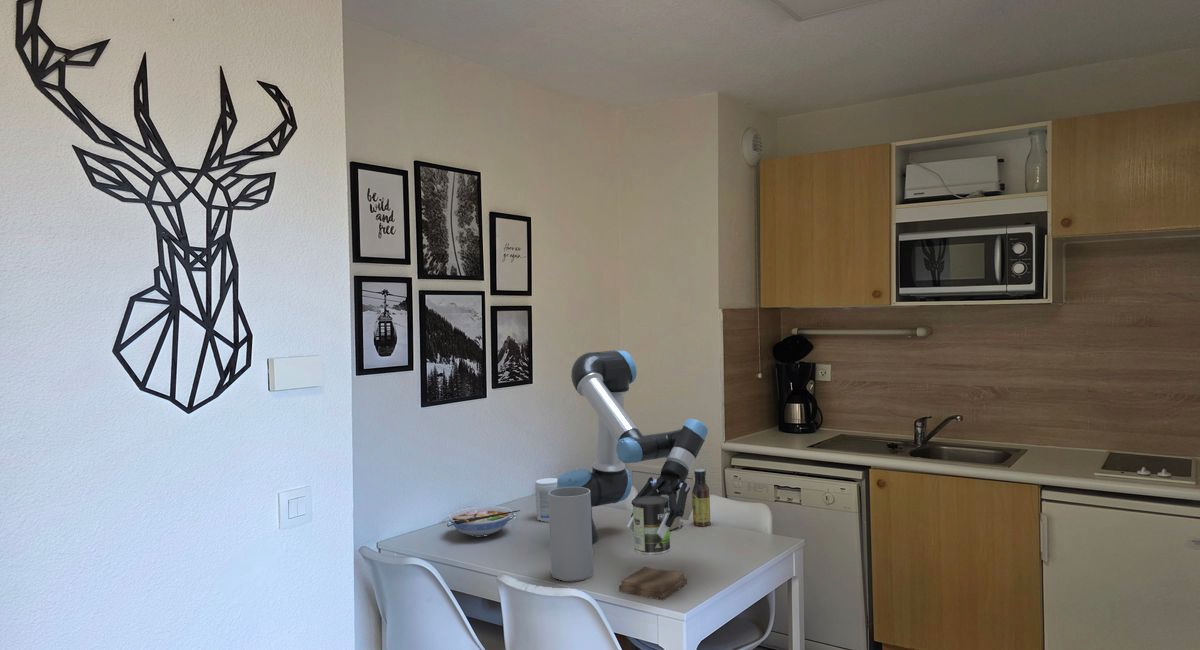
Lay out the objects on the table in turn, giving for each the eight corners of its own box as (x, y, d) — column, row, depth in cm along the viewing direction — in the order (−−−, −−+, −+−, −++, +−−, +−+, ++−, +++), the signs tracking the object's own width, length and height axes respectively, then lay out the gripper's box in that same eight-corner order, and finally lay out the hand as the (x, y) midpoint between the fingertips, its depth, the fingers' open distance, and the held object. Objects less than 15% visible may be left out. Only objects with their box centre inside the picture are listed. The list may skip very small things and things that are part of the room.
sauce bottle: (694, 521, 287) (692, 467, 286) (711, 522, 285) (710, 468, 284) (691, 526, 280) (689, 471, 280) (709, 527, 278) (707, 471, 278)
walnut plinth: (619, 591, 219) (618, 580, 219) (644, 576, 231) (643, 565, 231) (663, 600, 212) (662, 589, 212) (686, 583, 223) (686, 573, 223)
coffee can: (676, 546, 223) (674, 497, 222) (660, 557, 214) (658, 505, 213) (644, 542, 228) (642, 494, 228) (627, 552, 219) (625, 502, 219)
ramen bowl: (499, 521, 297) (498, 499, 297) (527, 534, 278) (526, 511, 278) (436, 533, 283) (435, 511, 283) (461, 548, 264) (460, 524, 264)
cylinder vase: (596, 568, 239) (593, 486, 239) (589, 582, 227) (586, 496, 226) (556, 567, 241) (553, 486, 241) (547, 581, 229) (543, 496, 229)
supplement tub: (567, 518, 298) (565, 479, 297) (548, 524, 291) (546, 484, 291) (550, 514, 304) (549, 476, 304) (531, 519, 298) (530, 481, 298)
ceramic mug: (665, 532, 274) (665, 510, 274) (650, 527, 281) (650, 506, 281) (688, 527, 281) (688, 505, 280) (673, 522, 287) (673, 501, 287)
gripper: (715, 478, 224) (683, 546, 213) (653, 469, 239) (621, 533, 228) (703, 463, 220) (670, 532, 209) (641, 455, 235) (608, 519, 224)
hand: (644, 532), depth 219 cm, fingers closed on coffee can, 10 cm apart
